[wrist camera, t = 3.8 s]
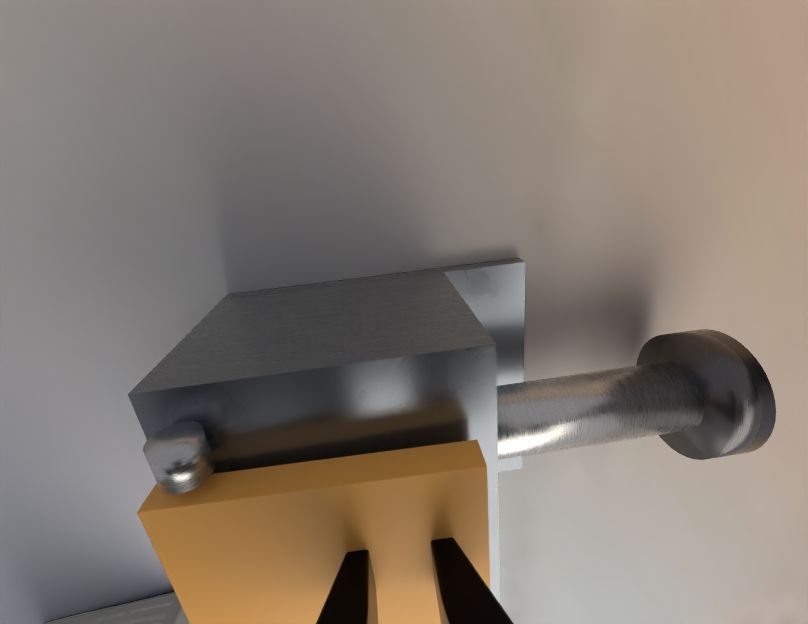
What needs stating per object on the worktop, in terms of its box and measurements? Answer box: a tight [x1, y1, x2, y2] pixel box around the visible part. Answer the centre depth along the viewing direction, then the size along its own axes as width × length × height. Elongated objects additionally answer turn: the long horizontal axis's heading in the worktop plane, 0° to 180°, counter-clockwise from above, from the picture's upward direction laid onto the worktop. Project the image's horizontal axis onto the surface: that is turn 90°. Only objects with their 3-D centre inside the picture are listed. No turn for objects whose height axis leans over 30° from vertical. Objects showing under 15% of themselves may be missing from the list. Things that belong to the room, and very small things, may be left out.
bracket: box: [128, 258, 525, 603], centre depth 11 cm, size 9×8×6 cm
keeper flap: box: [137, 440, 490, 624], centre depth 8 cm, size 6×4×1 cm
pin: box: [497, 329, 776, 460], centre depth 11 cm, size 11×4×4 cm, turn 95°
